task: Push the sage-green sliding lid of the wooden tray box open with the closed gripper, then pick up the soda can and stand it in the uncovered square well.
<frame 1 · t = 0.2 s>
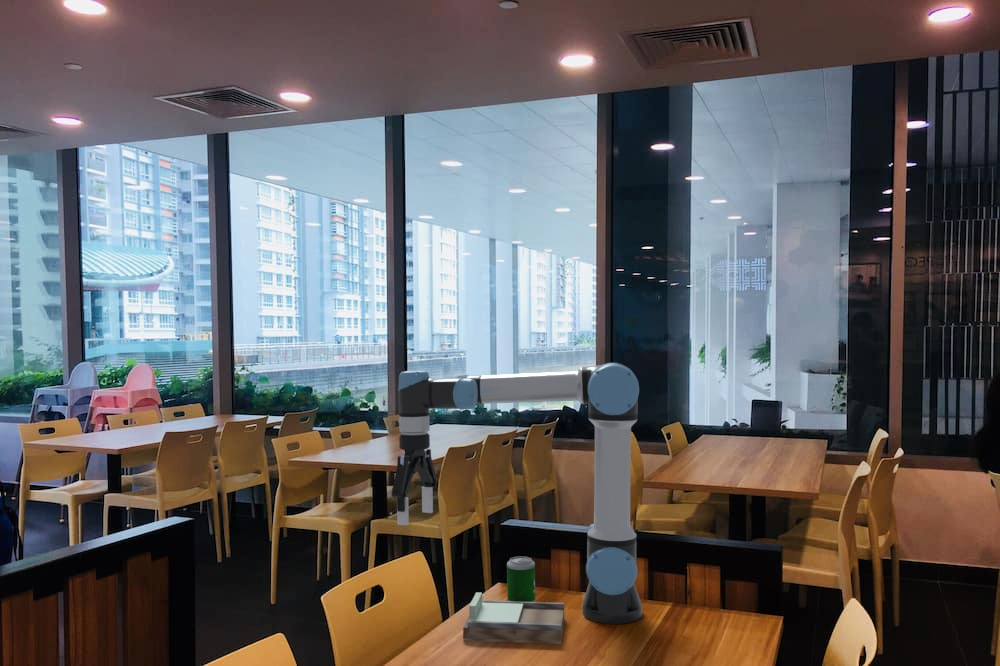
hand: (415, 518, 192), 27 cm above the table, fingers open, 13 cm apart
lid: (496, 607, 189), point 5 cm above the table, slide at 0.0 cm
soda can: (521, 605, 206), on the table
wooden tray box: (515, 629, 188), on the table
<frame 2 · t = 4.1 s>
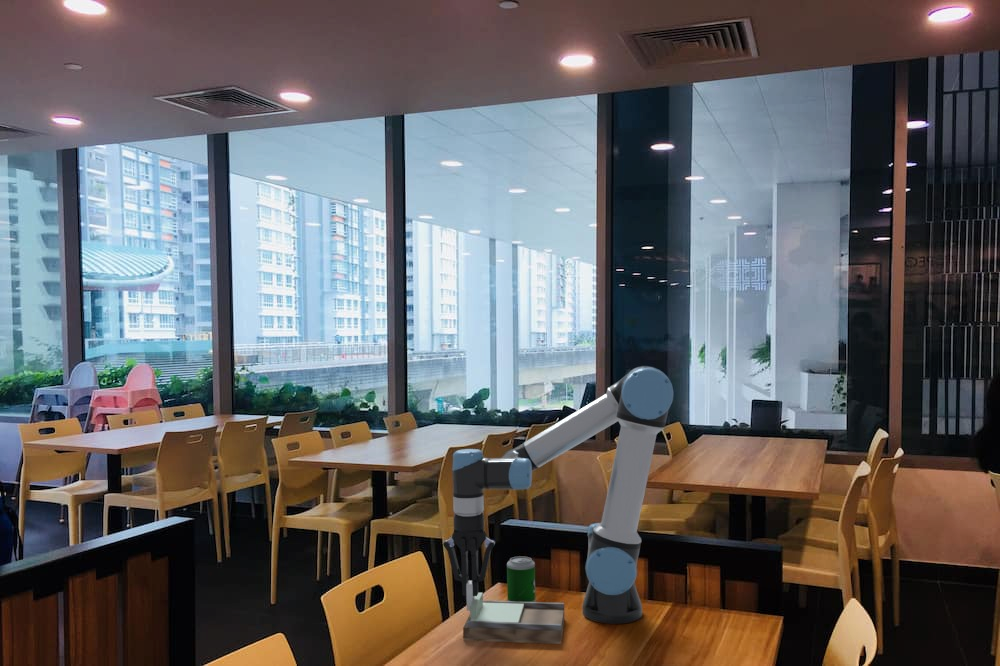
hand: (470, 608, 190), 5 cm above the table, fingers closed
lid: (497, 607, 189), point 5 cm above the table, slide at 0.2 cm, touching gripper
everything else where it was.
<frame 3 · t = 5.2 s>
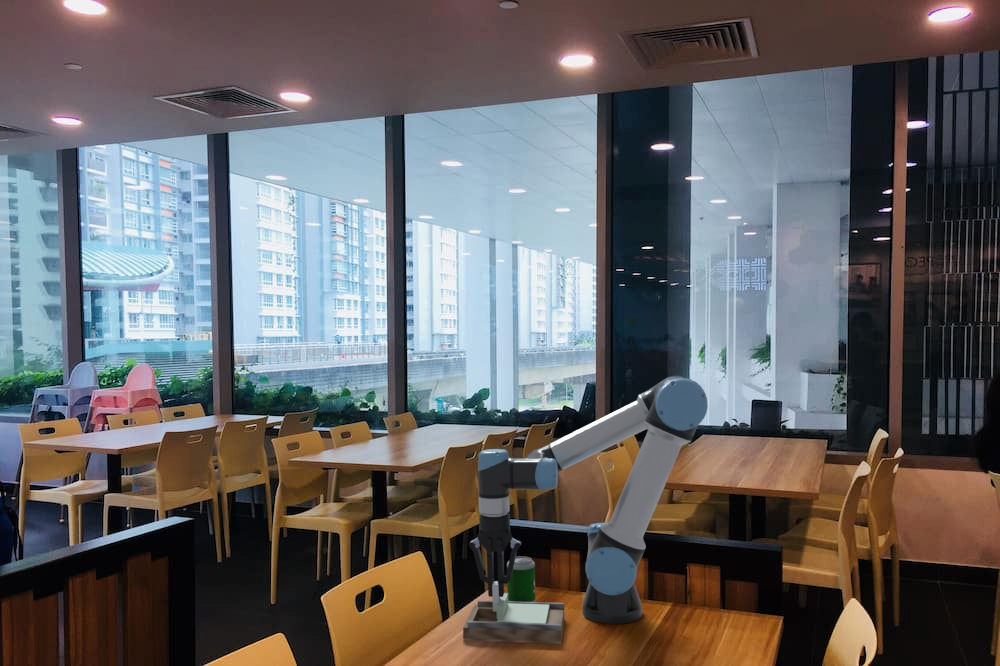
hand: (496, 609, 189), 5 cm above the table, fingers closed
lid: (523, 608, 188), point 5 cm above the table, slide at 6.6 cm, touching gripper
everything else where it was.
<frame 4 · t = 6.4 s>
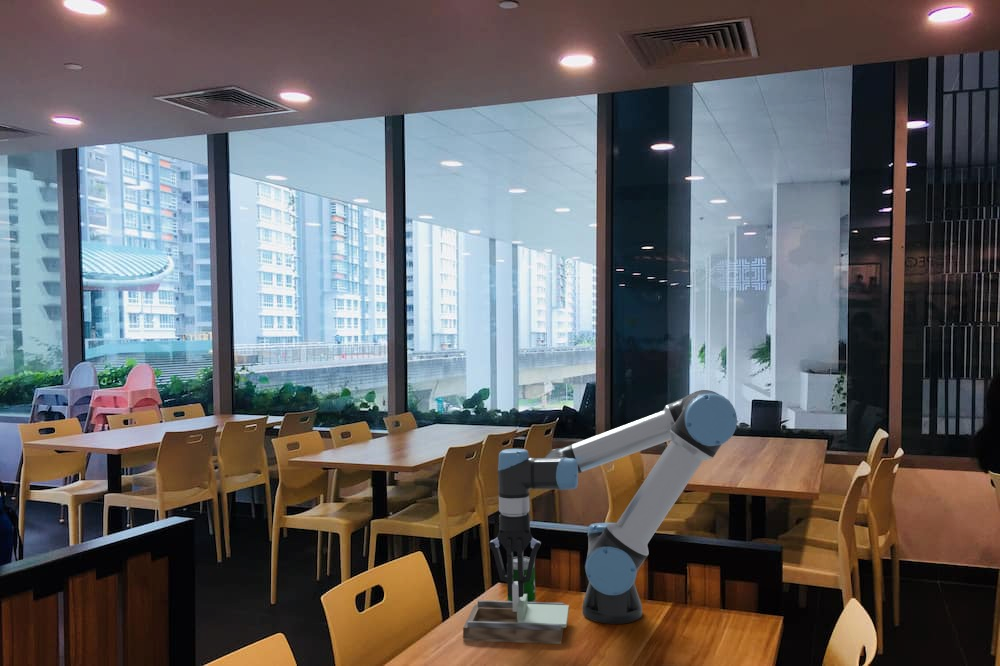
hand: (516, 609, 188), 5 cm above the table, fingers closed
lid: (543, 608, 187), point 5 cm above the table, slide at 11.5 cm, touching gripper
everything else where it was.
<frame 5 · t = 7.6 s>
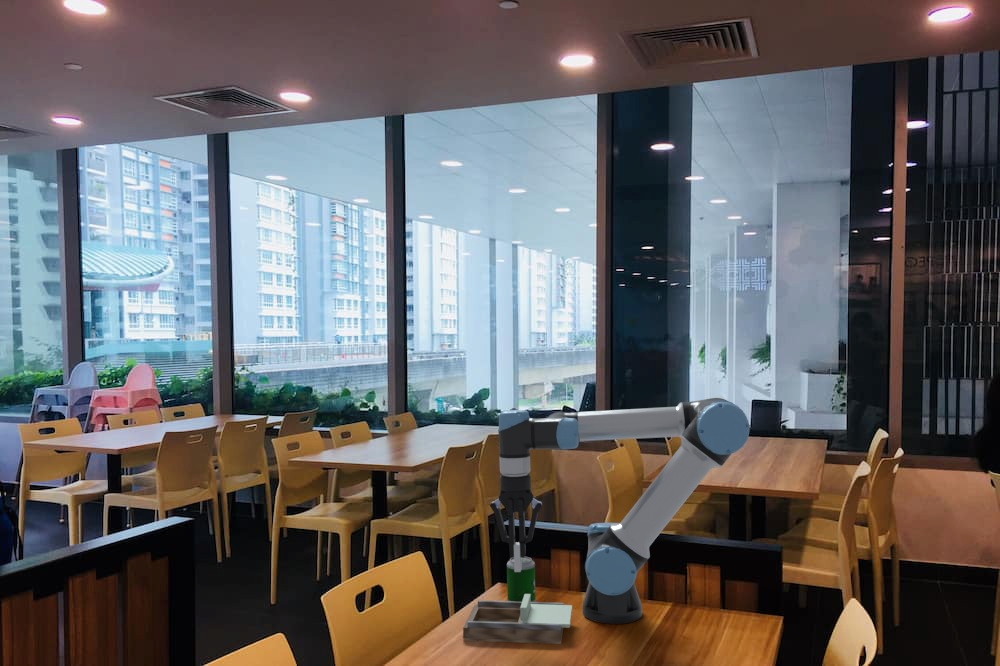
hand: (518, 570, 188), 14 cm above the table, fingers closed
lid: (546, 609, 187), point 5 cm above the table, slide at 12.3 cm
everything else where it was.
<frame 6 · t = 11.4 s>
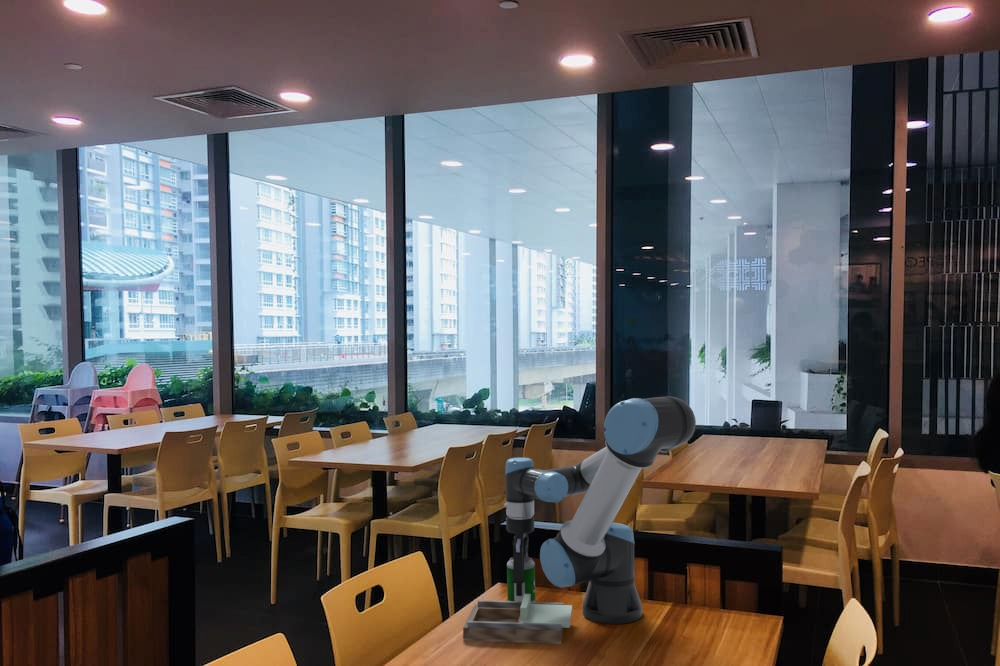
hand: (521, 601, 206), 1 cm above the table, fingers closed on soda can, 7 cm apart
soda can: (521, 605, 206), on the table, touching gripper
everything else where it was.
when the fingers open (4 cm above the table, at t = 16.8 s): soda can drops 3 cm, resting on wooden tray box.
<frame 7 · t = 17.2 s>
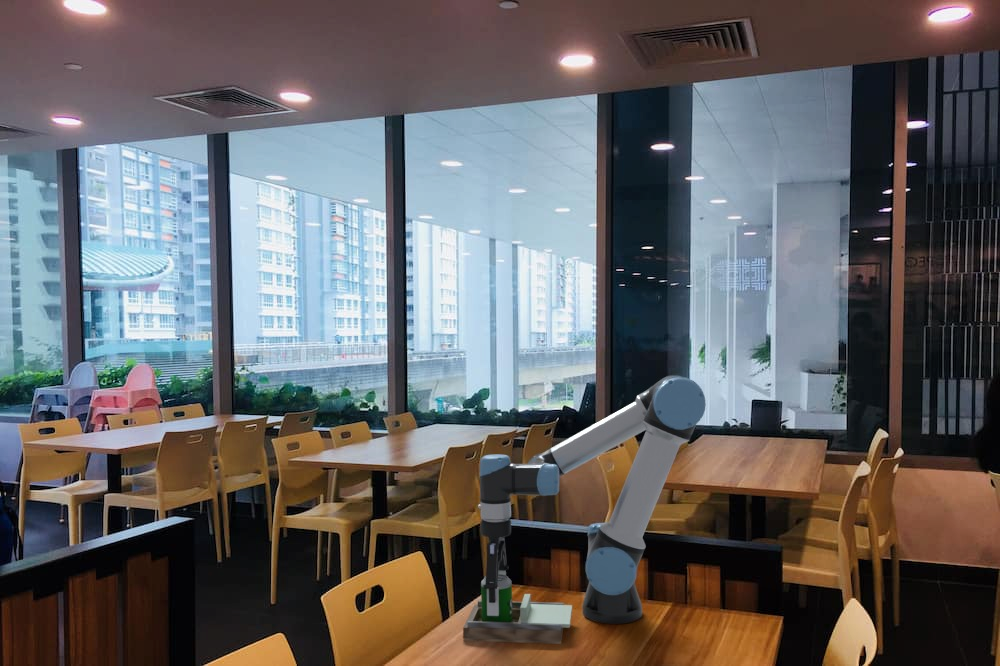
hand: (497, 605, 189), 6 cm above the table, fingers open, 13 cm apart
soda can: (497, 627, 189), resting on wooden tray box
everything else where it was.
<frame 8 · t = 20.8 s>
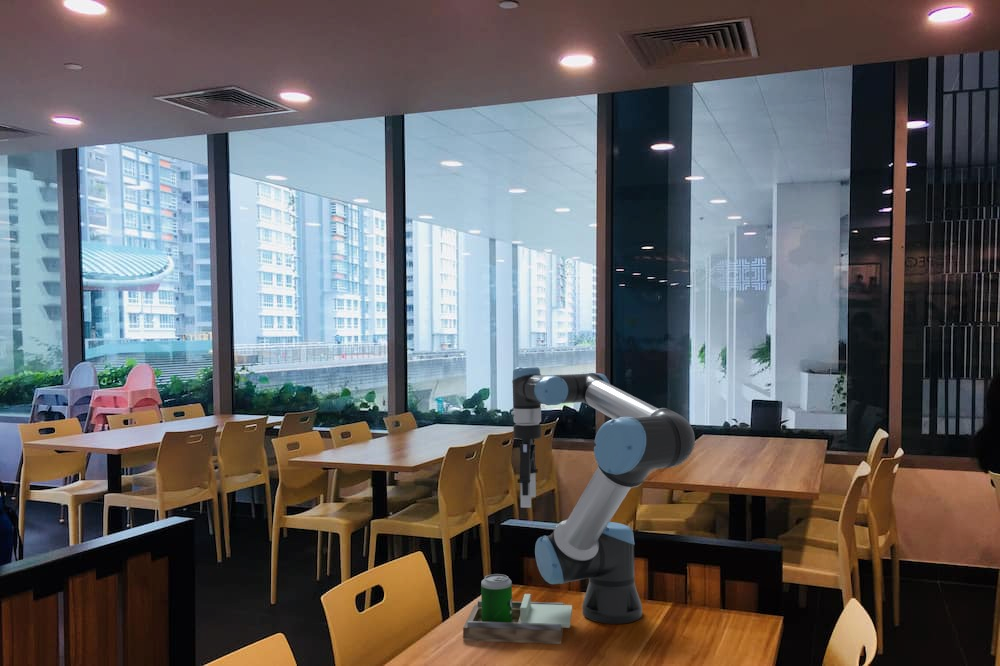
hand: (528, 502, 209), 27 cm above the table, fingers open, 13 cm apart
nothing on the table moved.
at the end: lid slide at 12.3 cm; soda can 0.0 cm from the target spot on the wooden tray box, point 0.3 cm above the wooden tray box's base; soda can tilted 0° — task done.
